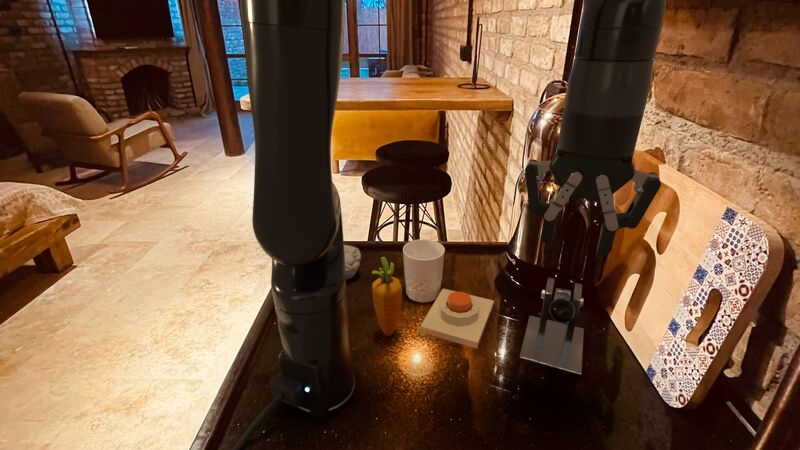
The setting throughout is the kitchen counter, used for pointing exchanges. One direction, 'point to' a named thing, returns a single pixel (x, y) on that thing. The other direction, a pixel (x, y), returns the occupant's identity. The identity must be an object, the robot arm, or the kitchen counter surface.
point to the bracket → (555, 336)
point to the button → (459, 302)
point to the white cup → (423, 269)
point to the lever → (562, 306)
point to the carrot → (387, 298)
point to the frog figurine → (351, 260)
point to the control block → (457, 320)
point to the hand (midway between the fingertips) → (574, 249)
